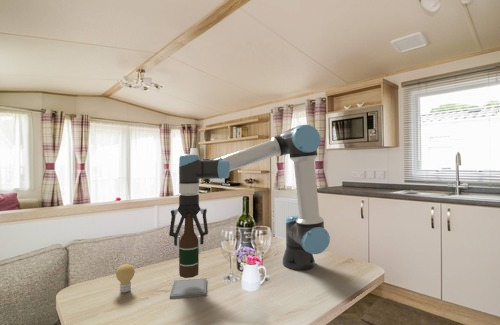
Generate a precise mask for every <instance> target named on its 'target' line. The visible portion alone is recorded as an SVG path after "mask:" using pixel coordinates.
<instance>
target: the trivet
mask: <svg viewBox="0 0 500 325" xmlns="http://www.w3.org/2000/svg"><path fill="white" fill-rule="evenodd" d="M207 281H208V279H207V277H205V278H203V277H202V278H189V279H177V280H174V281H173V283H172V288H171V291H170V293H169V299H180V298H191V297H204V296H207V283H208V282H207Z"/></svg>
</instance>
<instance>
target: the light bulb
mask: <svg viewBox="0 0 500 325" xmlns="http://www.w3.org/2000/svg"><path fill="white" fill-rule="evenodd" d="M135 273H136V270H135V268H134V266H133V265H132V264H128V263H126V264H122V265H120V266H119V267H118V268H117V270H116V272H115V276H116V279H117V280H118V281H119V283H120V284H119V288H120V289H119V292H121V293H124V294H125V293H128V292H130V291H131V290H132V285H131V284H132V282H131V281H132V279H133V277H134V276H135Z"/></svg>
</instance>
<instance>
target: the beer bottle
mask: <svg viewBox="0 0 500 325" xmlns="http://www.w3.org/2000/svg"><path fill="white" fill-rule="evenodd" d="M194 225H195V224H194V219H192V214H191V213H186V219H185V218H184V228H183V229H184V230H183V233H182V235H181V236H180V244H179V255H178V257H179V258H178V263H179V265H178V266H179V267H178V271H179V277H180V278H183V279H188V278H189V279H193V278H194V277H197V276H198V275H199V270H200V269H199V266H200V265H199V263H200V262H199V260H200V259H199V255H200V254H199V246H198V235H197V234H196V233H195V227H194Z"/></svg>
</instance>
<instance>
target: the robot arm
mask: <svg viewBox="0 0 500 325" xmlns="http://www.w3.org/2000/svg"><path fill="white" fill-rule="evenodd" d="M321 140H322V139H321V134H320V132H319V130H317V128H315V126H313V125H310V124H300V125H297V126H296V127H292V128H290V129H287V130H285V131H284V132H282V133H279V134H277V135H275V136H273V137H271V138H270V140H267V141H264V142H262V143H259V144H255V145H253V146H250V147H246V148H242V149H241V150H238V151H235V152H231V153H228V154H226V155H223V156H220V157H216V158H214V159H200V157H199V154H181V155H180V156H179V160H178V161H179V164H178V177H179V178H178V193H179V196H178V208H175V209H174V208H172V209H171V210H170V214H171V220H170V226H169V227H170V228H169V233H168V235H169V237H173V240H174V241H173V242H174V243H173V244H174V246H175V247H176V255H177V256H179V244H180V240H181V236H180V235H179V234H180V231H181V228H182V226H183V223H184V222H185V219H186V213H191V214H192V219H193V222H194V223H195V224H194V225H196V228H197V230H198V232H199V235H197V238H198V246H199V255H200V254H202V253H201V252H202V250H201V246H202V245H204V242H205V241H204V240H205V239H204V238H205V237H204V236H206V235H208V234H209V227H208V221H207V211H208V210H207V208H202V207H201V206H200V195H199V193H200V179H202V180H203V179H206V180H207V179H214V180H215V179H219V180H221V179H228V178H229V177H230V173H231V172H232V171H235V170H237V169H241V168H244V167H246V166H250V165H252V164H254V163H255V164H256V163H258V162H260V161H264V160H267V159H270V158H272V157H275V156H276V157H282V156H285V155H289V159H290V160H291V161H292V162H293V167H294V176H295V178H294V179H295V185H296V186H295V187H296V197H297V200H296V201H297V207H298V208H297V209H298V215H290V216H287V217H286V219H285V237H286V238H285V244H286V245H285V250H284V253H283V257H282V265H283V266H284V267H286V268H287V269H291V270H294V271H295V270H296V271H306V270H311V269H313V268H314V267H315V262H316V261H315V258H314V255H319V254H322V253H323V252H325V251H326V250H327V248H328V247H329V244H330V242H331V241H330V240H331V236H330V233H329V232H328V230H327V229H326V228H325V225H324V222H325V221H324V218H323V217H321V216H320V211H319V210H320V209H319V199H318V198H319V197H318V188H317V187H318V186H317V176H316V165H315V159H316V158H317V157H318V149H319V147H320V146H321V142H322V141H321ZM199 212H200V215H202V221H203V222H202V223H203V228H202V226H201V222H200V221H199V218H198V213H199ZM178 213H179V214H180V216H181V218H180V220H179V222H178V224H177V228H176V230H175V224H176V215H177V214H178ZM203 229H204V230H203Z"/></svg>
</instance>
